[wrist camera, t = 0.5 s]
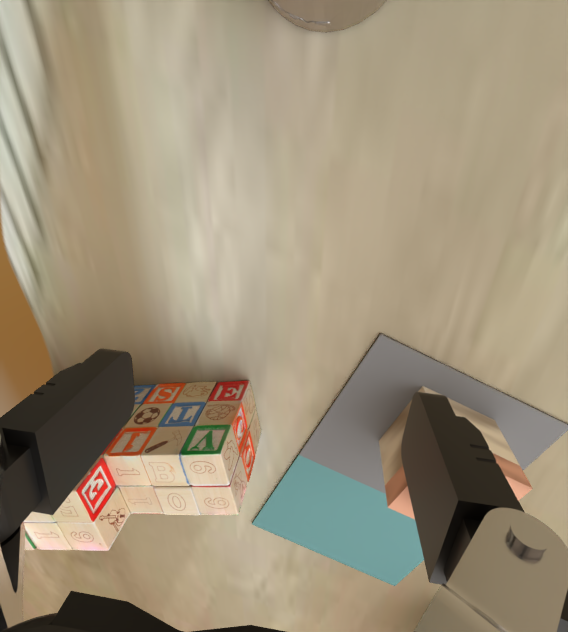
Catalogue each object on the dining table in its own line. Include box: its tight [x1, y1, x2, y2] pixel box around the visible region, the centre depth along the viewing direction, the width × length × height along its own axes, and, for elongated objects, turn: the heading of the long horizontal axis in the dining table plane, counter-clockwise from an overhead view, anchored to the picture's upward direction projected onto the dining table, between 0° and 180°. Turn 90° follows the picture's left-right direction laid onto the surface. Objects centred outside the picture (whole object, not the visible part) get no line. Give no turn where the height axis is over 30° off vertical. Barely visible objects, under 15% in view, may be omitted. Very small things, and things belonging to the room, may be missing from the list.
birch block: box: [379, 386, 533, 519], centre depth 30 cm, size 7×7×7 cm
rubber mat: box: [252, 333, 568, 586], centre depth 37 cm, size 27×18×1 cm, turn 155°
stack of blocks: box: [24, 381, 261, 551], centre depth 32 cm, size 21×6×12 cm, turn 98°
